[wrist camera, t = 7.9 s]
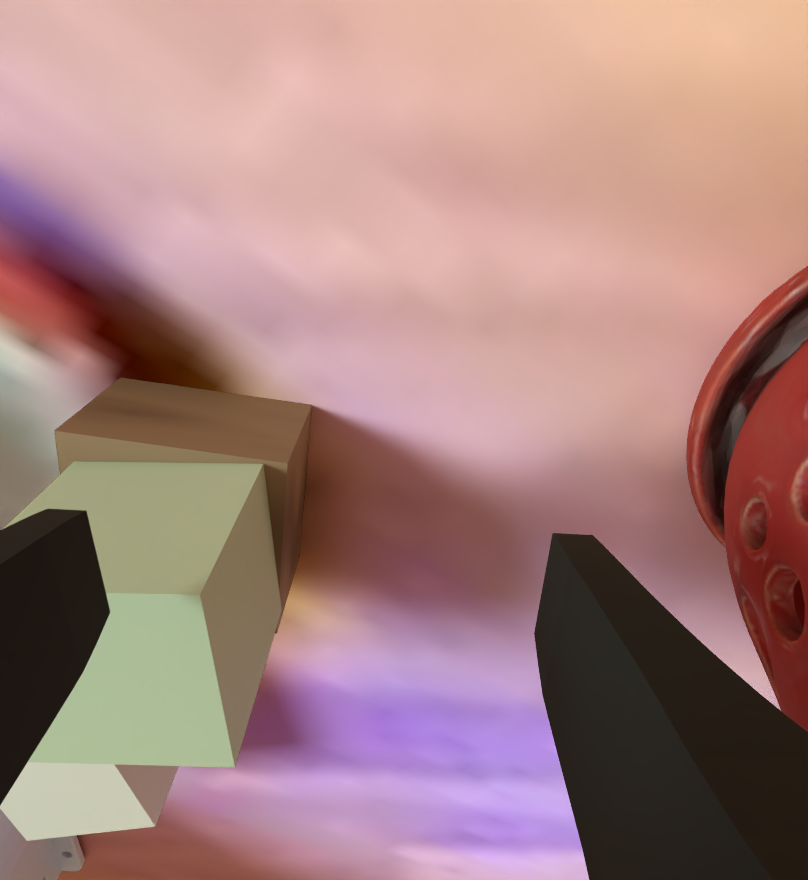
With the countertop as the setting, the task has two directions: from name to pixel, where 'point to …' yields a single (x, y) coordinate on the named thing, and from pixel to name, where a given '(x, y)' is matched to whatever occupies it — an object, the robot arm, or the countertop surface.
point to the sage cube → (169, 612)
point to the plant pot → (762, 480)
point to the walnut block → (202, 444)
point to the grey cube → (86, 798)
